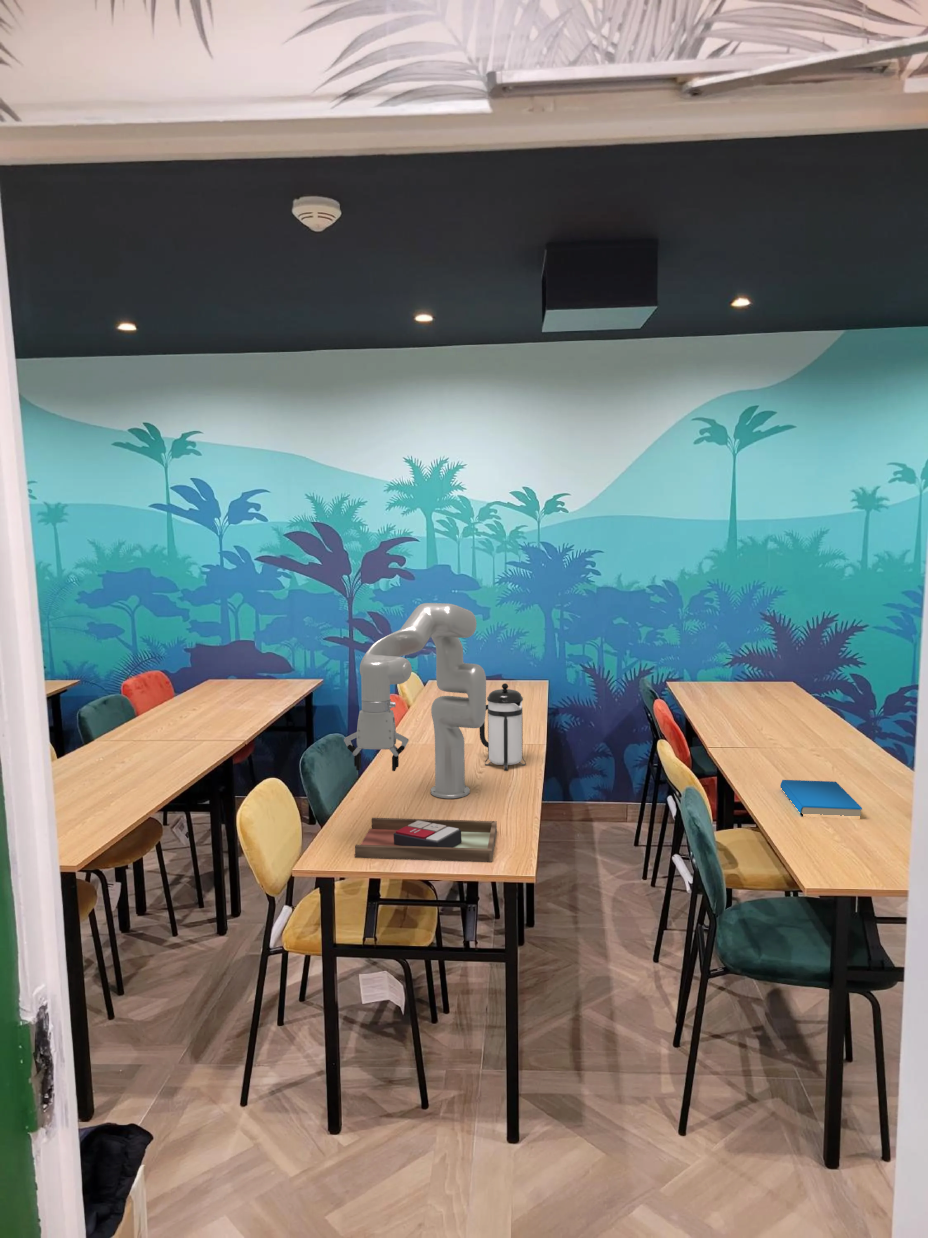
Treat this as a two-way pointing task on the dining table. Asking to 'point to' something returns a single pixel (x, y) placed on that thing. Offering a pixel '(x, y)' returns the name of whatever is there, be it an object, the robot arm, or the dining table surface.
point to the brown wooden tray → (472, 848)
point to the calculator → (427, 835)
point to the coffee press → (504, 727)
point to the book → (820, 798)
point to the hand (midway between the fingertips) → (376, 769)
